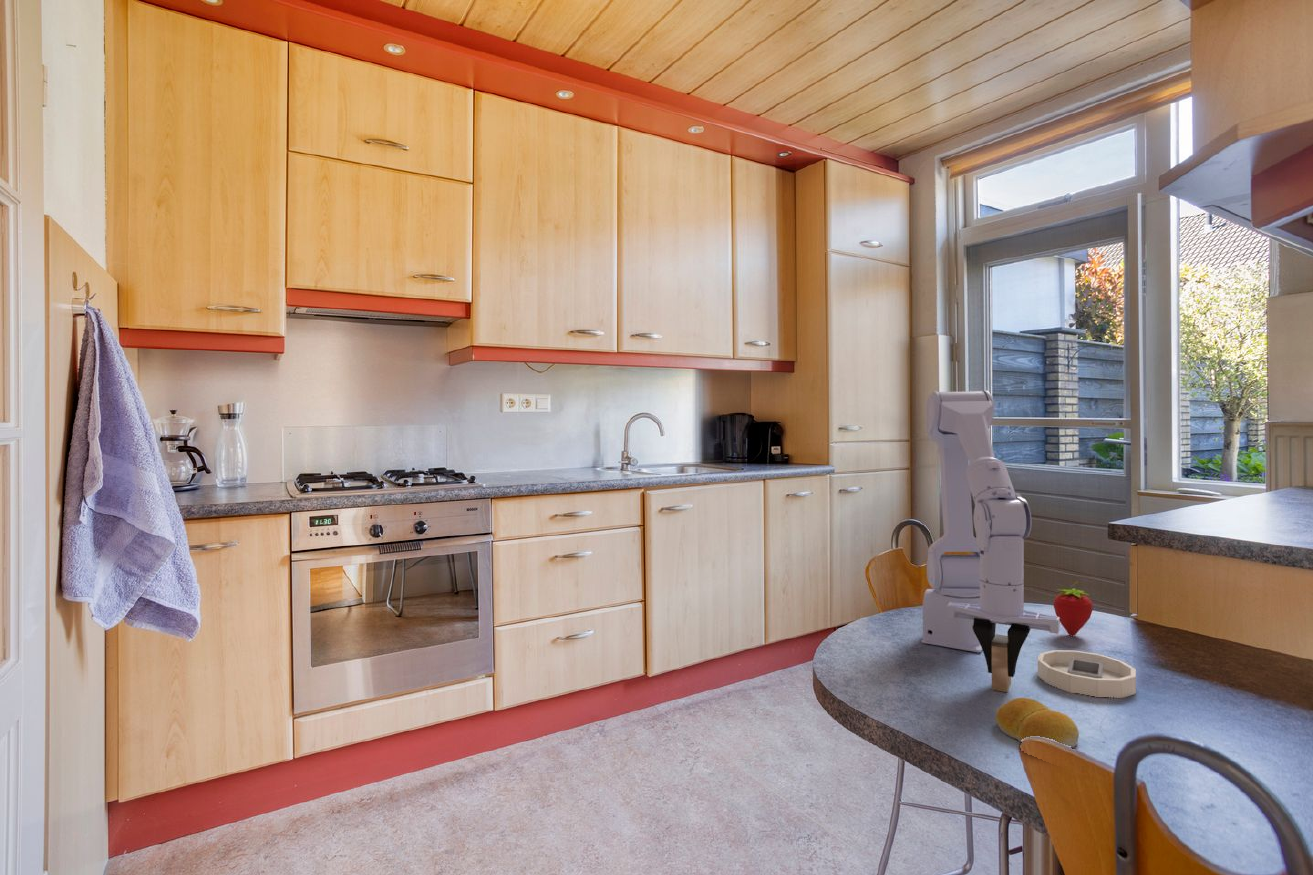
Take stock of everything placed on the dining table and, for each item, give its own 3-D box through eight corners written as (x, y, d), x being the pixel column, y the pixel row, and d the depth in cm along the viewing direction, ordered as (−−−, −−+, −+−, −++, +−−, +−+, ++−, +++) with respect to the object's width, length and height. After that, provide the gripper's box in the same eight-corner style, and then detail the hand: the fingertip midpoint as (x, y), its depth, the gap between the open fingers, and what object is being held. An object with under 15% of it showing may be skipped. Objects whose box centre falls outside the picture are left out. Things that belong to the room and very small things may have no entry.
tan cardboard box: (991, 689, 98) (991, 641, 98) (996, 680, 101) (996, 634, 101) (1007, 692, 97) (1007, 644, 97) (1011, 683, 100) (1011, 636, 100)
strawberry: (1097, 634, 122) (1097, 579, 121) (1086, 644, 116) (1086, 587, 116) (1060, 627, 126) (1061, 574, 126) (1047, 636, 121) (1048, 581, 120)
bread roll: (1046, 759, 78) (1046, 725, 78) (984, 726, 87) (984, 696, 87) (1096, 746, 81) (1097, 713, 81) (1032, 715, 90) (1032, 686, 90)
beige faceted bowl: (1034, 685, 99) (1034, 668, 99) (1043, 660, 109) (1043, 645, 109) (1136, 704, 92) (1136, 686, 92) (1135, 676, 102) (1135, 659, 102)
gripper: (942, 580, 99) (942, 671, 100) (1056, 593, 91) (1056, 693, 92) (952, 570, 105) (953, 657, 106) (1060, 582, 97) (1060, 676, 97)
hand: (1001, 672), depth 99 cm, fingers closed on tan cardboard box, 2 cm apart
